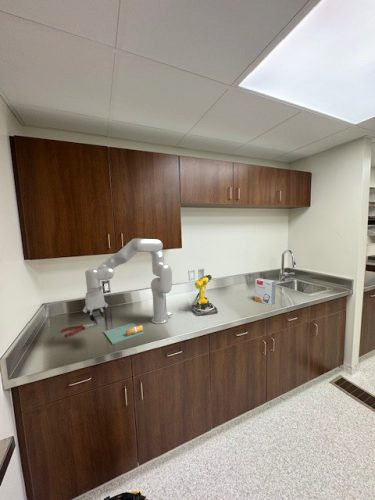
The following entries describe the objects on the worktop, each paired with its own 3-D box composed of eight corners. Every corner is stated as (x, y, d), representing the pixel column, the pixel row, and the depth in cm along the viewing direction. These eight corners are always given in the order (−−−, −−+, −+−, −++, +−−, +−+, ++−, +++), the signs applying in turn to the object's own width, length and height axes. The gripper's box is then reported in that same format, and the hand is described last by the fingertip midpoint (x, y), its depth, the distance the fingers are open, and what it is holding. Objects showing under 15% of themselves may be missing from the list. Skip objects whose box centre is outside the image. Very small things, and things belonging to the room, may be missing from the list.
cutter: (99, 317, 131) (98, 310, 130) (105, 324, 120) (104, 317, 120) (91, 319, 128) (91, 312, 128) (96, 326, 118) (96, 319, 117)
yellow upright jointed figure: (220, 313, 163) (219, 278, 161) (196, 316, 159) (195, 280, 156) (211, 305, 181) (210, 273, 179) (190, 308, 177) (189, 275, 174)
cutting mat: (133, 323, 150) (132, 317, 150) (144, 333, 135) (143, 326, 134) (103, 332, 138) (103, 325, 138) (112, 344, 123) (112, 337, 123)
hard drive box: (254, 301, 188) (254, 279, 186) (258, 299, 193) (258, 277, 191) (271, 305, 176) (271, 282, 175) (275, 303, 181) (275, 280, 180)
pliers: (97, 327, 147) (97, 324, 147) (65, 338, 133) (64, 334, 133) (91, 323, 155) (91, 319, 155) (60, 332, 142) (60, 329, 141)
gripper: (106, 285, 132) (109, 313, 134) (77, 291, 123) (80, 321, 124) (110, 288, 126) (113, 317, 128) (79, 294, 116) (82, 326, 118)
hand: (97, 319), depth 126 cm, fingers closed on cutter, 4 cm apart
